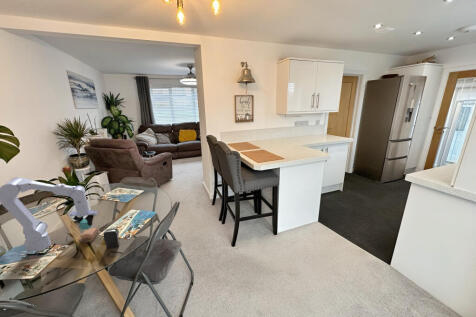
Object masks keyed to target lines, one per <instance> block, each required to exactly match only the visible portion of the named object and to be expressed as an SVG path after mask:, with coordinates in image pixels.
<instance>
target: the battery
mask: <svg viewBox="0 0 476 317" xmlns="http://www.w3.org/2000/svg"><path fill="white" fill-rule="evenodd" d="M119 233H120V232H119V229H118V228H107V229H106V230H105V231H104V232H103V234H102V235H103V240H104V243H105V247H106V248H107V249H109V248H110V249H113V248H119V247H120V244H121V243H120V239H119V238H120V237H119V235H120V234H119Z"/></svg>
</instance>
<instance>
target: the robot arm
mask: <svg viewBox="0 0 476 317" xmlns="http://www.w3.org/2000/svg"><path fill="white" fill-rule="evenodd" d="M29 184H30V185H29ZM31 190H35V191H45V192H50V193H51V192H52V193H53V194H54V195H57V196H58V195H59V196H65V197H70V198H71V199H73V204H74V207H75V210H76V211H71V212H69V213H68V215H69V217H73V218H72V219H73V220H74V221H75V222H77V223H78V224H79V223H80V222H81V221H82V220H83V219H86V220H87V222H88V225H89V226H91V225H92V226H93V220H94V216H95V217H96V216H97V215H99V213H98V210H91V209H90V208H89V204H88V200H87V196H86V188H85V187H84V186H83V185H76V186H75V185H67V184H65V183H58V184H56V185H55V184H50V183H45V182H40V181H36V180H32V179H30V178H24V177H21V176H20V177H19V176H17V177H12V179H10V180H9V181H8V182H6V183H5V184H3V185H1V186H0V204H1V205H2V206H3V207H4V208H5V209H6V210H7V212H8V213H9V214H11V216H12V217H13V218H14V219H15V220H16V221H17V222H18V223H19V224H20V225H21V226H22V234H23V235H24V239H25V240H24V242H23V245H24V248H25V251H26V252H31V251H35V252H37V251H40V250H43V249H45V248H47V247H49V246H50V245H51V243H52V242H51V239H50V236H49V233H48V231H47V229H48V224H47V223H46V222H44V221H42V220H41V219H39V218H38V219H36V218H35V216H34V215H33V214H32V213H31V212H30V211H29V209H27V207H26V206H25V205H24V203H23V202H22V201H21V200H20V199H19V198H18V196H19V195H20V193H21V194H22V193H25V192H28V191H31ZM84 217H85V218H84ZM92 226H91V227H92Z"/></svg>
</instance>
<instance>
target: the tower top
mask: <svg viewBox="0 0 476 317" xmlns="http://www.w3.org/2000/svg"><path fill="white" fill-rule="evenodd" d="M97 232H99V230H98V228H97V227H92V228H91V227H90V228H89V229H86V230H84V231H83V232H82V233H81V234H80V238H81V239H85V238H93V237H94V235H95V234H96V233H97Z"/></svg>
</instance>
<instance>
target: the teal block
mask: <svg viewBox="0 0 476 317" xmlns="http://www.w3.org/2000/svg"><path fill="white" fill-rule="evenodd" d="M78 224H79V227H80V230H81V231H83V230H84V231H85V230H86V229H91V227H92V226H93V224H92V225H91V226H89V225H88V222H87V220H86V219H85V218H83V220H82V221H81V222H80V223H78Z"/></svg>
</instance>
